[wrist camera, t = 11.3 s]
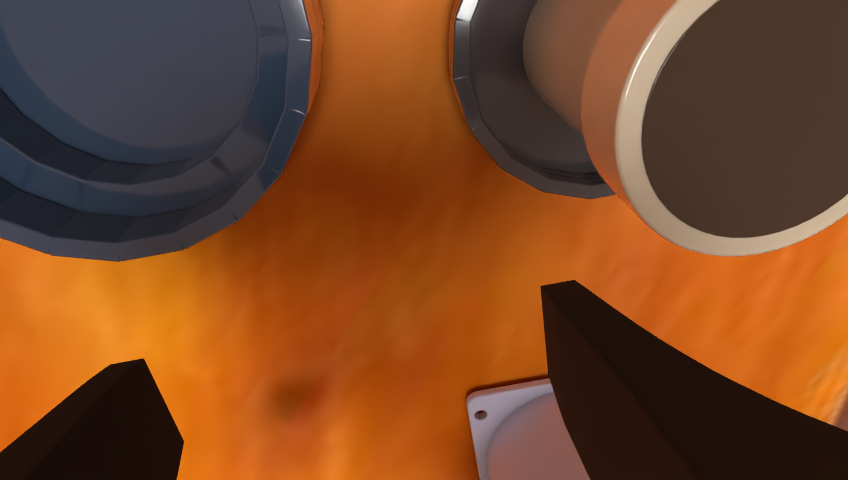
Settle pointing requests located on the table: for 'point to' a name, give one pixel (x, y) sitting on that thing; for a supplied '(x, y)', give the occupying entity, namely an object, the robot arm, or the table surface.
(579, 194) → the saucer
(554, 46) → the clay pot
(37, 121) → the planter
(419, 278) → the table surface
